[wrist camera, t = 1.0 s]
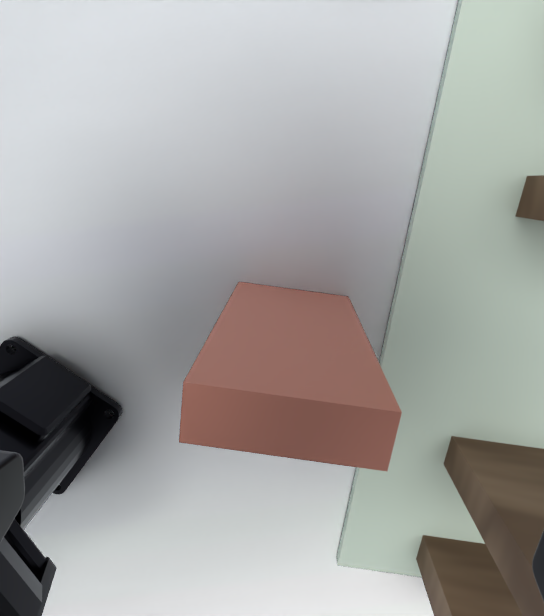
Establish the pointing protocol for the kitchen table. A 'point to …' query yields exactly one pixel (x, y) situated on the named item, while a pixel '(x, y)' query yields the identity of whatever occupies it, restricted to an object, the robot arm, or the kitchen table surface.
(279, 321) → the red domino
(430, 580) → the domino
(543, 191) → the domino
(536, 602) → the domino
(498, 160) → the sage board
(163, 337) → the kitchen table surface
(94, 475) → the kitchen table surface
